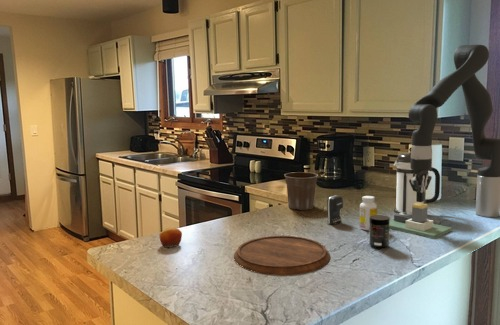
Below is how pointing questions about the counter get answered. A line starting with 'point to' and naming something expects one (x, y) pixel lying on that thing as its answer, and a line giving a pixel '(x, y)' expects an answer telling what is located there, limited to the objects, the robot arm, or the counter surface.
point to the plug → (419, 212)
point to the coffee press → (404, 189)
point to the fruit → (170, 237)
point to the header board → (417, 226)
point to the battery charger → (334, 209)
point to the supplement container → (379, 231)
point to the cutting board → (282, 255)
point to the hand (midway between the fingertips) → (419, 201)
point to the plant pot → (301, 189)
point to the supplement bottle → (367, 211)
